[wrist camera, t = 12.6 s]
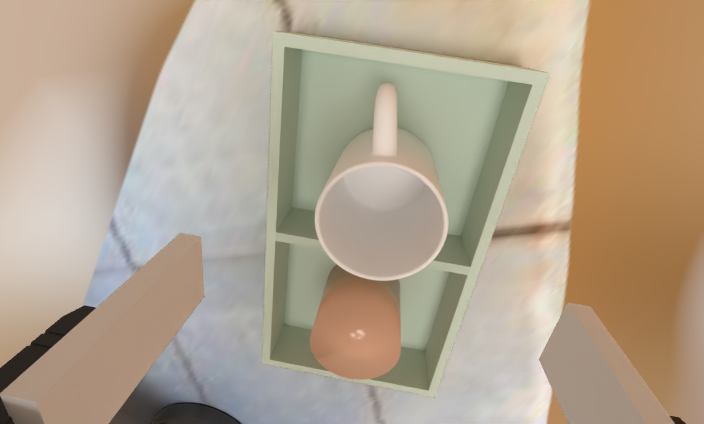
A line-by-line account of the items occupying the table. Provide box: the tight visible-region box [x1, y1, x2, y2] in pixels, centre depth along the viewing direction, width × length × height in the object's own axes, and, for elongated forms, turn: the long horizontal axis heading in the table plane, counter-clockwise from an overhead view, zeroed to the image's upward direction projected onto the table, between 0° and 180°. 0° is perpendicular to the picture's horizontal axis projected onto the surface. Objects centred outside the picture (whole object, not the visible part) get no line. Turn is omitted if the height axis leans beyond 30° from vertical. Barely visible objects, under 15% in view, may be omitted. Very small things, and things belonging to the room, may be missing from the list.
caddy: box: [262, 31, 550, 398], centre depth 32 cm, size 18×30×6 cm, turn 172°
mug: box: [315, 83, 449, 281], centre depth 26 cm, size 12×8×10 cm
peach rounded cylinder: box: [310, 265, 401, 380], centre depth 34 cm, size 8×8×8 cm
